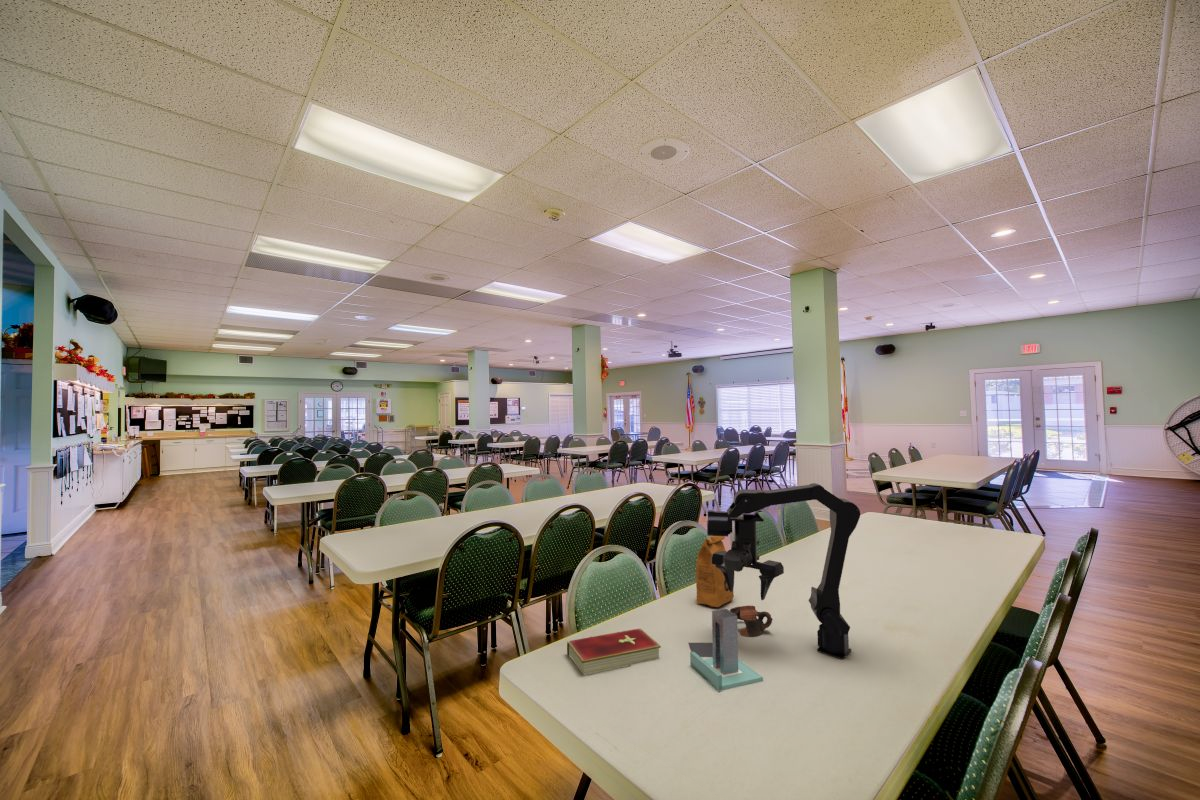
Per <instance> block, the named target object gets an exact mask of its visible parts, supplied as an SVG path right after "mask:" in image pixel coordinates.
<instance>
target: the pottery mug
mask: <svg viewBox="0 0 1200 800" xmlns="http://www.w3.org/2000/svg"><path fill="white" fill-rule="evenodd" d="M729 611H731V612H732V613H734V614H735V615H737V620H740V621H743V622H744V624H745V627H742V628H739V632H740V635H741V637H746V638H748V637H750V638H751V637H753V638H754V637H759V636H761V635H762V633H763V632H764V631H765V630H766V629H767V628H770V626H771V625H772V623H773V617H772V615H771V614H770V612H768V611H757V609H756V606H755V605H742V606H740V605H739V606H736V607H732V608H730V609H729ZM764 618H766V622H764V621H763V620H764Z"/></svg>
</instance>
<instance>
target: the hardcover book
mask: <svg viewBox="0 0 1200 800" xmlns="http://www.w3.org/2000/svg"><path fill="white" fill-rule="evenodd" d="M566 642H567V643H566V655H567V656H569V658H571V660H572V661H573V662H574V664H575V666H576V667H577V668H578V670H579V671H580V673H581V674H582V675H583V676H587V675H588V676H589V675H592V674H596V673H600V672H606V671H611V670H615V669H621V668H624V667H625V668H626V667H630V666H631V665H632V664H636V663H641V662H646V661H651V660H655V659H659V658H660V655H659V652H660V651H659V650H660V648H662V647H661V644H659V643H658V642H657V641H656V640H655V639H654V638H652V637H651V635H649V634H647V632H645V631H644V629H642V628H641V627H640V628H639V627H638V628H635V629H628V630H622V631H616V632H612V633H606V634H599V635H596V636H594V635H593V636H589V637H583V638H578V639H573V640H567V641H566Z"/></svg>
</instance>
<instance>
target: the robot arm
mask: <svg viewBox="0 0 1200 800" xmlns="http://www.w3.org/2000/svg"><path fill="white" fill-rule="evenodd" d="M807 501H817V502H818V503H821V504H822V505H823V506H825V507H826V508H828V509H829V525H830V535H829V541H828V545H827V551H826V555H825V561H824V565H823V570H822V576H821V579H820V580H821V581H820V583H819V585H818V586H817V587H815V586H811V589H810V590H811V591H810V597H809V599H808V603H809V604H810V608H811V610H812V612H813V614H814V615H815V617H816V619H817V620H818V621H819V623H820V624H819V625H818V630H817V633H816V634H817V647H818V648H816V649H817V650H816V651H817V652H819V653H820V654H824V655H828V656H830V657H834V658H837V659H841V660H844V659H845V658H846V657H847V656H848V655H849V654H850V653H851V652H852V648H849V646H850V645H849V644H850V643H849V633H850V632H849V631H850V629H851V626H850V624H848V622H847V621H846V619H845V618H844V617H843V615H842V614H841V602H840V594H839V593H840V592H839V591H840V590H839V588H840V584H841V580H842V575H843V574H842V573H843V569H844V565H845V560H846V555H847V554H846V553H847V550H848V545H849V541H850V540H849V539H850V537H851V536H852V535H853V532H854V531H855V529H856V528H857V526H858V524H859V521H860V517H861V511H860V508H859V506H858V505H856V504H855V503H854V502H852V501H850V500H848V499H845V498H839V497H837V496H835V494H833V493H831V492H829V491H828V490H827V489H825V487H824V486H823V485H820V484H818V483H816V482H814V483H813V482H812V483H810V484H805V485H804V484H803V485H797V486H792V487H791V486H790V487H789V486H788V487H783V488H776V489H769V490H765V489H764V490H761V489H750V488H749V489H745V488H744V489H739V490H736V492H735V494H734V495H733V502H732V503H731V504H730V505H729V507H728V508H727V510H726V511H723V510H722V511H719V510H718V511H717V510H716V511H715V510H707V520H706V532H707V537H711V536H724V537H729V535H731V534H733V522H734V540H733V541H731V542H732V543H731V548H730V549H728V550H726V551H719V552H716V553H713V555H712V557H711V563H712V564H715V566H716V568H719V569H720V570H721V571H722V573H723V575H724V577H725V579H726V582H727V585H728V588H729V590H730V592H732V591H733V592H734V586H735V572H736V573H737V572H741V571H742V570H744V567H745V568H748V569H749V568H750V569H754V570H759V571H758V572H759V573H760V575H759V576H758V578H759V580H760V600H761V601H764V600H765V598H766V596H767V594H768V592H769V589H770V586H771V584H772V583H773V581H774V580H775V578H777V577H780V576H781V575H783V574H784V573H785V570H784V565H783V564H782V562H780V561H775V560H770V559H768V560H765V561H763V562H760V561H759V560H760V555H758V545H760V540H758V539H757V522H758V523H759V522H761V523H764V521H765V519H764V517H762V516H761V515H760V513H759V511H761V510H763V509H765V508H768V507H771V506H777V505H784V504H785V505H786V504H792V503H799V502H807Z"/></svg>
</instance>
